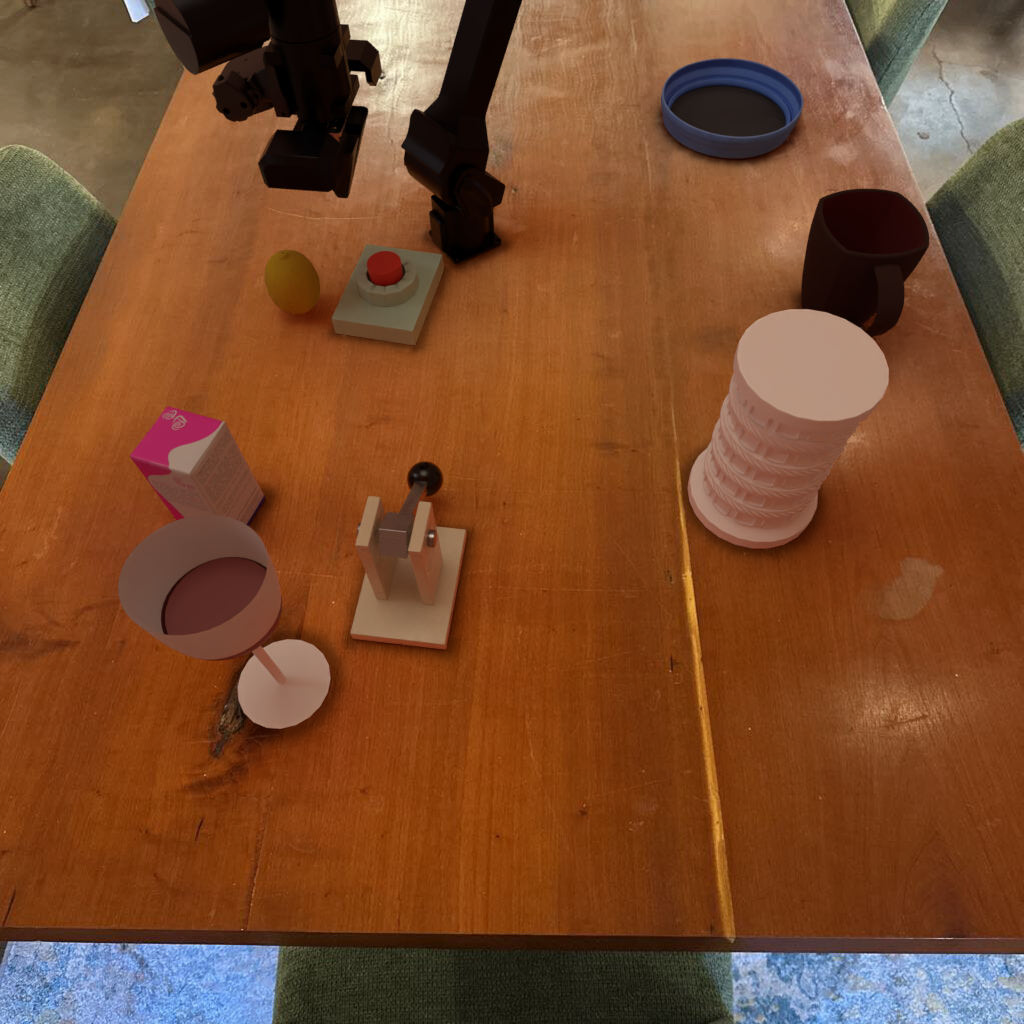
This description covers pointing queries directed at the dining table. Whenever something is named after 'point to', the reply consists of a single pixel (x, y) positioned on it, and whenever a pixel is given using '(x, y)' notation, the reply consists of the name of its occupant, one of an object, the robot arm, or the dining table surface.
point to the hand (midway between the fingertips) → (343, 195)
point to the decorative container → (784, 424)
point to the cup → (862, 256)
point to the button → (385, 268)
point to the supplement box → (197, 467)
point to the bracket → (408, 581)
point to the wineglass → (224, 612)
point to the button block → (389, 298)
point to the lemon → (292, 282)
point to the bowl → (730, 107)
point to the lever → (408, 510)
